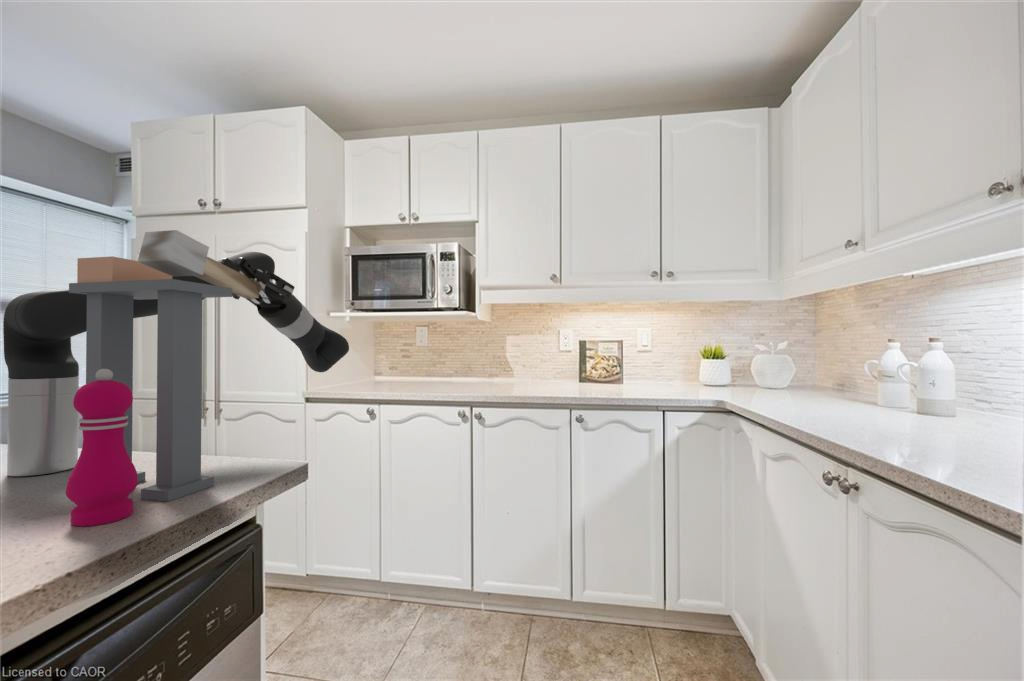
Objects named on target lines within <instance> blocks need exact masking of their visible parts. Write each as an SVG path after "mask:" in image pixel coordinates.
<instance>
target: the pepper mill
mask: <svg viewBox="0 0 1024 681" xmlns="http://www.w3.org/2000/svg"><path fill="white" fill-rule="evenodd" d="M112 377H113V373H112V371H110V370H109V369H100V370H99V371H97V372H96V379H97V380H99V381H94V382H90V383H88V384H86V383H85V384H83V385H82V386H81V387H79V389H78V391H77V392H76V394H75V396H74V400H73V404H74V408H75V409H76V411H78V414H79V415H81V417H82V418H78V430H80V431H82V447H81V451H80V454H79V456H78V461H77V463H76V465H75V467H74V468H72V471H71V472H70V474H69V476H68V479H67V482H66V488H65V495H66V497H67V499H68V500H69V501H70V502H72V503H73V504H74V505H75V507H73V508H71V510H70V524H71V525H72V526H74V527H83V528H84V527H94V526H95V527H96V526H100V525H106V524H110V523H114V522H117V521H120V520H123V519H126V518H128V517H130V516H131V515H132V514H133V513H134V500H133V498H130V497H129V496H130V495H131V494H132V493H133V492H134V490H135V489H136V488H137V486H138V483H139V482H138V477H137V472H136V471H137V469H136V466H135V464H134V463H133V460H132V461H131V459H130V458H129V456H128V454H127V451H126V448H125V445H124V436H123V435H124V426H126V425H128V422H127V418H128V416H127V415H124V414H125V412H126V411H127V409H128V408H129V407H130V406H131V405H132V406H133V402H134V395H132V392H131V389H130V388H129V387H128V386H127V385H125V384H124V383H121V382H118V381H113V380H111V379H112Z"/></svg>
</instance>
